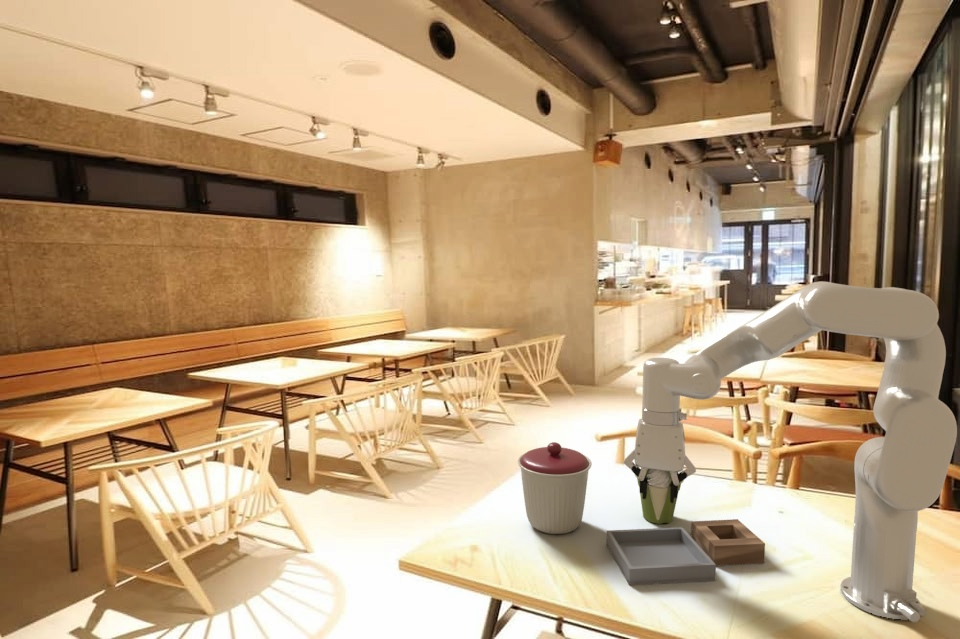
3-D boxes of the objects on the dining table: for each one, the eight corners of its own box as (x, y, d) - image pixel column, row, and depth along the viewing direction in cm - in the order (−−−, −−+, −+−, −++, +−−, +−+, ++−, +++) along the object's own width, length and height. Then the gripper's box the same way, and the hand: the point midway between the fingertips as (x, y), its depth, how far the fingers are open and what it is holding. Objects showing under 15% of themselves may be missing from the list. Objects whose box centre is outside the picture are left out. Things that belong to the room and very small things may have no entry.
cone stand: (764, 563, 120) (764, 543, 119) (713, 565, 119) (714, 545, 118) (736, 537, 131) (737, 519, 130) (690, 539, 130) (691, 521, 129)
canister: (598, 542, 129) (599, 455, 127) (521, 543, 129) (520, 456, 127) (583, 507, 147) (583, 431, 145) (515, 508, 147) (515, 432, 145)
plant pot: (686, 531, 134) (687, 486, 133) (635, 527, 136) (636, 483, 135) (679, 509, 146) (680, 468, 144) (632, 506, 148) (633, 465, 147)
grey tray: (715, 580, 113) (715, 564, 113) (629, 585, 112) (629, 569, 112) (682, 541, 129) (682, 527, 129) (606, 545, 128) (606, 530, 128)
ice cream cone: (661, 512, 123) (663, 447, 121) (674, 523, 118) (676, 455, 116) (641, 515, 122) (642, 449, 120) (653, 526, 117) (655, 457, 115)
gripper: (703, 415, 118) (700, 497, 120) (621, 408, 124) (620, 486, 126) (704, 425, 111) (700, 512, 113) (617, 417, 117) (615, 499, 119)
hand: (658, 497), depth 119 cm, fingers closed on ice cream cone, 5 cm apart
